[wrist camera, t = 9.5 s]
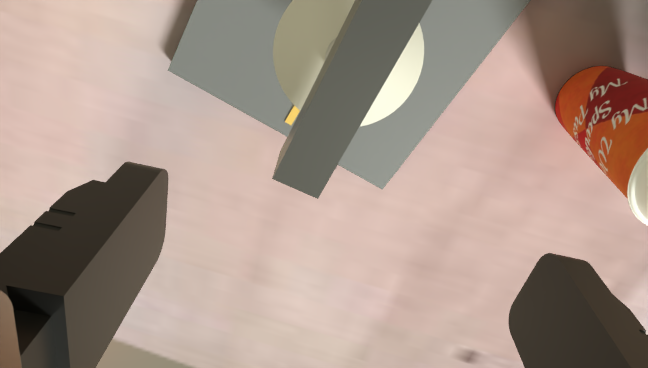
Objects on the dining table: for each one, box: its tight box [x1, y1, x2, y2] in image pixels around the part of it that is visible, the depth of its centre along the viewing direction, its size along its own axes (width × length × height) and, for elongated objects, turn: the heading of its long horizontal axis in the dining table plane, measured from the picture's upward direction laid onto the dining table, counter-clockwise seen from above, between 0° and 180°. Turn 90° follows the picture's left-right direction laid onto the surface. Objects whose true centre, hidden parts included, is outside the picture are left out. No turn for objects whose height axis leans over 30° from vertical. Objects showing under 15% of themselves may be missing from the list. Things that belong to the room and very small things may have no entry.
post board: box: [168, 0, 530, 189], centre depth 30 cm, size 20×20×8 cm
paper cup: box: [555, 66, 648, 226], centre depth 29 cm, size 8×8×14 cm
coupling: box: [272, 0, 432, 199], centre depth 22 cm, size 11×8×8 cm
